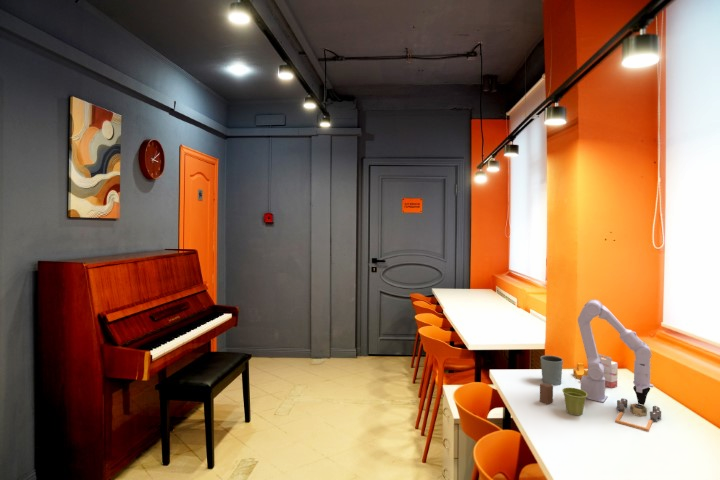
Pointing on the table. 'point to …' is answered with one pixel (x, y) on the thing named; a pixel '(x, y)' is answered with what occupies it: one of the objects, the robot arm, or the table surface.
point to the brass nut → (638, 409)
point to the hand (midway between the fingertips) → (641, 403)
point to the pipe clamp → (580, 371)
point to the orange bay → (633, 424)
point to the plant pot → (574, 400)
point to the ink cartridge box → (609, 371)
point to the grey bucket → (551, 369)
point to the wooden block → (546, 393)
